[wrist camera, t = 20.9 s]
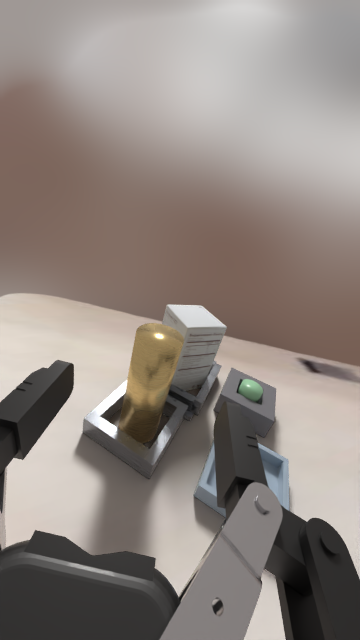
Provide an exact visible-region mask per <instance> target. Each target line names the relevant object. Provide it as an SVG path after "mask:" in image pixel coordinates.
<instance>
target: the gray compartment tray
mask: <svg viewBox="0 0 360 640" xmlns="http://www.w3.org/2000/svg"><path fill="white" fill-rule="evenodd" d="M220 368H221V366H220V365H218V364H216V361H213V363H212V366H211V368H210V371H209V373H208V374H209V376H208V377H207V379H206V381H205V383H204V384H203V386H202V388H201V390H200V391H199V393H198V395H197V396H196V397H195V396H193V395H191V394H190V393H188V392H186V391H184V390H182V389H180V388H178V387H177V386H175V385H173V384H171V386H170V389H169V393H168V396H167V399H166V403H165V406H164V409H163V413H162V414H164V415H166V416H167V417H169V418H170V419H169V421H168V422H167V424H166V425H165V427H164V428H163V430H162V431H161V433H160V435H159V436H158V438H157V439H156V441H155V442H154V444H153V445H152V447H151V448H150V449H149V448H147V447H146V446H144V445H143V444H141V443H140V442H138V441H137V440H135V439H134V438H132V437H131V436H129V435H128V434H126V433H124V432H123V431H121V430H120V429H118V428H117V427H115V426H114V425H112V424H111V423H109V422H108V420H109V419H110V418H111V417H112V416H113V415H114V414H115V413H116V412H117V411H118V410H119V409H120V408H121V407H122V405H123V400H124V395H125V389H126V384H127V381H126V382H125V383H124V384H122V385H121V386H120V387H119V388H118V389H117V390H115V391H114V392H113V393H112V394H111V395H110V396H109V397H107V398H106V399H105V400H104V401H103V402H102V403H101V404H99V405H98V406H97V407H96V408H95V409H94V410H92V411H91V412H90V413H89V414H88V415H87V416H86V417H84V422H83V433H84V434H86V435H87V436H88V437H90V438H91V439H93V440H94V441H96V442H97V443H98V444H100V445H101V446H103V447H104V448H105V449H107V450H108V451H110V452H111V453H113V454H114V455H115V456H117V457H118V458H120V459H121V460H122V461H124V462H125V463H127V464H128V465H130V466H131V467H132V468H134V469H135V470H137V471H138V472H139V473H141V474H142V475H144V476H145V477H147V478H148V479H149V478H150V477H151V475H152V473H153V471H154V470H155V468H156V466H157V464H158V463H159V461H160V459H161V457H162V456H163V454H164V452H165V451H166V449H167V447H168V445H169V444H170V442H171V440H172V438H173V437H174V435H175V433H176V431H177V430H178V428H179V426H180V424H181V423H182V421H183V419H184V418H185V419H186V420H188V421H190V420H191V418H192V416H193V413H194V414H195V415H198V413H199V411H200V410H201V408H202V406H203V404H204V402H205V400H206V398H207V396H208V394H209V392H210V390H211V388H212V386H213V384H214V382H215V380H216V378H217V376H218V373H219V371H220Z"/></svg>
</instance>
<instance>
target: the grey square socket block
mask: <svg viewBox="0 0 360 640" xmlns="http://www.w3.org/2000/svg"><path fill="white" fill-rule="evenodd" d="M245 379H250V380H253V381H255V382H257V383H258V384H259V385H260V386H261V387H262V389H263V393H262V395H261V397H260V399H259V401H258V402H257V403H256V402H254V401H252V400H250V399H248V398H246V397H244V396H242V395H240V394H238V393H237V391H238V389H239V387H240V385H241V383H242V381H243V380H245ZM225 401H226V402H230V403H234V404H238V405H240V408H241V413H242V416H243V417H247V418H248V419H249V420H250V422H251V424H252V425H253V427H254V429H255V433H256V434H258V435H260V436H262V437H265V436H266V434H267V432H268V431H269V429H270V428H271V426H272V424H273V423H274V419H275V401H276V388H274V387H272V386H270V385H268V384H265V383H263V382H261V381H259V380H257V379H255V378H253V377H251V376H248V375H246V374H244V373H242V372H240V371H238V370H236V369H234V368H231V371H230V373H229V375H228V377H227V380H226V382H225V384H224V387H223V389H222V391H221V394H220V396H219V398H218V401H217V403H216V405H215V408H214V411H216V412H218V413H219V412H220V409H221V407H222V405H223V403H224V402H225Z"/></svg>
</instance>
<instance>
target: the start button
mask: <svg viewBox="0 0 360 640" xmlns="http://www.w3.org/2000/svg"><path fill="white" fill-rule="evenodd" d="M237 393H238V394H240V395H242V396H244V397H246V398H248V399H250V400H252V401H254V402H256V403H257V402H258V401H259V399H260V397H261V395H262V393H263V389H262V387H261V386H260V385H259V384H258V383H257V382H255V381H253V380H250V379H245V380H243V381H242V383H241V385H240V387H239V389H238V391H237Z"/></svg>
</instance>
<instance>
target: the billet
mask: <svg viewBox="0 0 360 640" xmlns="http://www.w3.org/2000/svg"><path fill="white" fill-rule="evenodd" d="M183 343H184V338H183V336H182V335H181V334H180V333H179V332H178V331H177V330H175V329H174V328H172V327H169V326H166V325H163V324H156V323H149V324H144V325H142V326H140V327H139V328H138V329H137V331H136V336H135V341H134V347H133V352H132V357H131V363H130V368H129V373H128V379H127V384H126V389H125V395H124V400H123V405H122V411H121V416H120V421H119V429H120V430H121V431H123V432H124V433H126V434H128V435H129V436H131V437H132V438H134V439H135V440H137V441H138V442H140V443H141V444H144V443H147V442H149V441H150V440H152V439H153V437H154V436H155V435H156V432H157V429H158V426H159V422H160V419H161V416H162V413H163V409H164V406H165V403H166V399H167V396H168V393H169V389H170V386H171V383H172V380H173V376H174V373H175V370H176V366H177V363H178V360H179V356H180V353H181V350H182V347H183Z"/></svg>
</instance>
